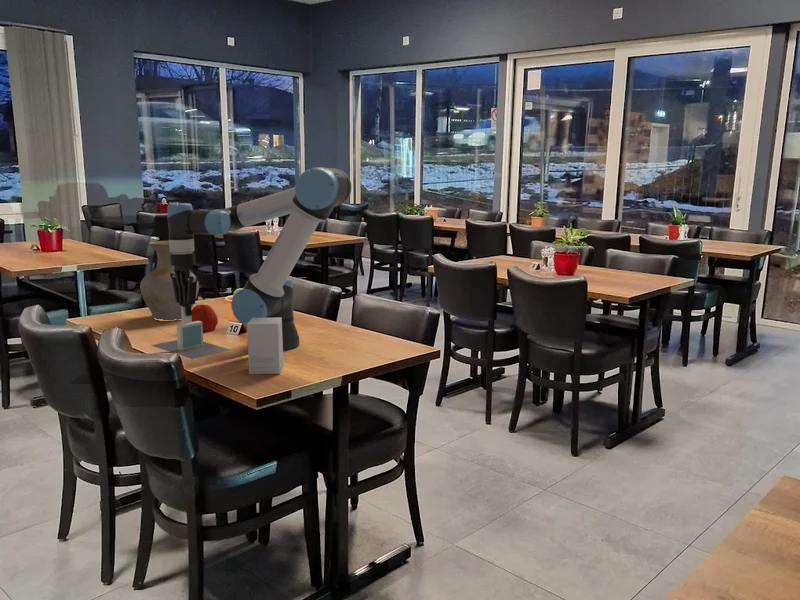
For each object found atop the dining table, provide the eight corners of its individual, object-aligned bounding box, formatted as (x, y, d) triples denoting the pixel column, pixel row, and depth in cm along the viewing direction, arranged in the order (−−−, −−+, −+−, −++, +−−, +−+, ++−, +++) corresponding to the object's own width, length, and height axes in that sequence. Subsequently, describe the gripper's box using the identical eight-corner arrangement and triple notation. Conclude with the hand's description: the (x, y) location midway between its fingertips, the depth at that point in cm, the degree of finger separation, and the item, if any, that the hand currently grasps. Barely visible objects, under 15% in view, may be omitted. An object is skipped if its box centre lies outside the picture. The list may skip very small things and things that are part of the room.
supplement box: (284, 365, 199) (282, 316, 196) (280, 374, 191) (278, 323, 188) (253, 365, 199) (252, 316, 196) (248, 374, 190) (246, 323, 187)
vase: (187, 309, 279) (183, 238, 273) (209, 318, 262) (205, 242, 257) (134, 316, 265) (129, 241, 260) (154, 326, 249) (148, 246, 243)
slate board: (231, 353, 212) (231, 349, 212) (192, 362, 202) (192, 358, 202) (189, 340, 228) (189, 337, 228) (151, 348, 217) (151, 345, 217)
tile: (203, 345, 217) (202, 321, 215) (181, 350, 211) (180, 326, 209) (199, 344, 218) (198, 320, 217) (177, 349, 212) (176, 324, 211)
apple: (223, 331, 242) (222, 302, 240) (204, 337, 233) (203, 308, 231) (201, 328, 246) (200, 300, 244) (182, 334, 237) (180, 305, 235)
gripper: (204, 253, 209) (208, 326, 213) (181, 250, 217) (186, 320, 221) (182, 255, 203) (187, 330, 207) (160, 252, 211) (165, 324, 216)
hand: (187, 325), depth 214 cm, fingers closed
